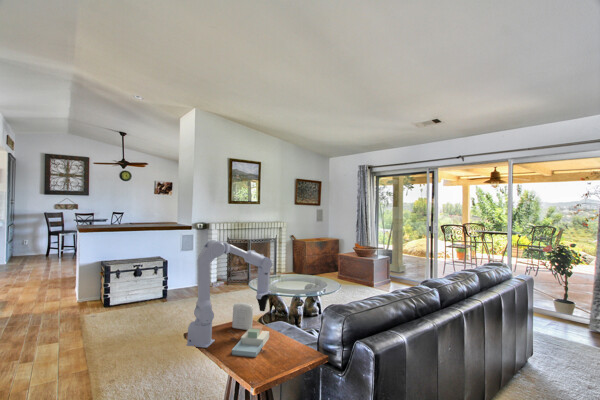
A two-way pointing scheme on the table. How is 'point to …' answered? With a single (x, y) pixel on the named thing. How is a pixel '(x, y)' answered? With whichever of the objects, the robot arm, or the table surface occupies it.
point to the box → (246, 350)
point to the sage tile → (253, 333)
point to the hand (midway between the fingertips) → (262, 310)
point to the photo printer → (242, 316)
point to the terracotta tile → (257, 328)
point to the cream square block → (255, 341)
